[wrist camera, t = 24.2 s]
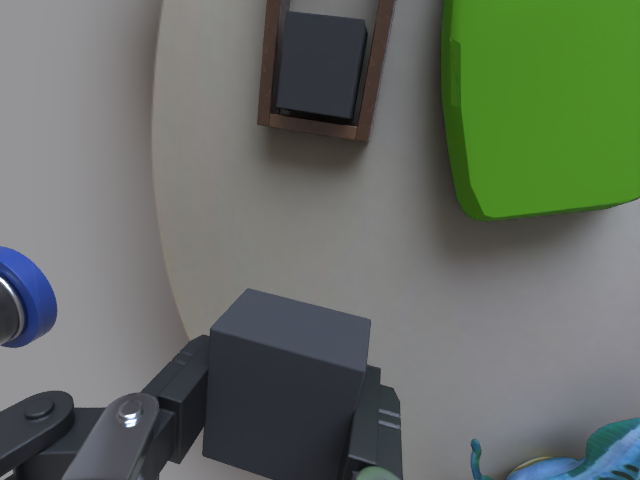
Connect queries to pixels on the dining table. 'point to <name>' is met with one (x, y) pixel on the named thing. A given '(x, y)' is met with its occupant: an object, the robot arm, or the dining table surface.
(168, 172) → the dining table surface
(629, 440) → the decorative fish
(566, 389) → the dining table surface
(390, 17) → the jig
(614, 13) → the spray bottle
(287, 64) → the pad
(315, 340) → the pad
